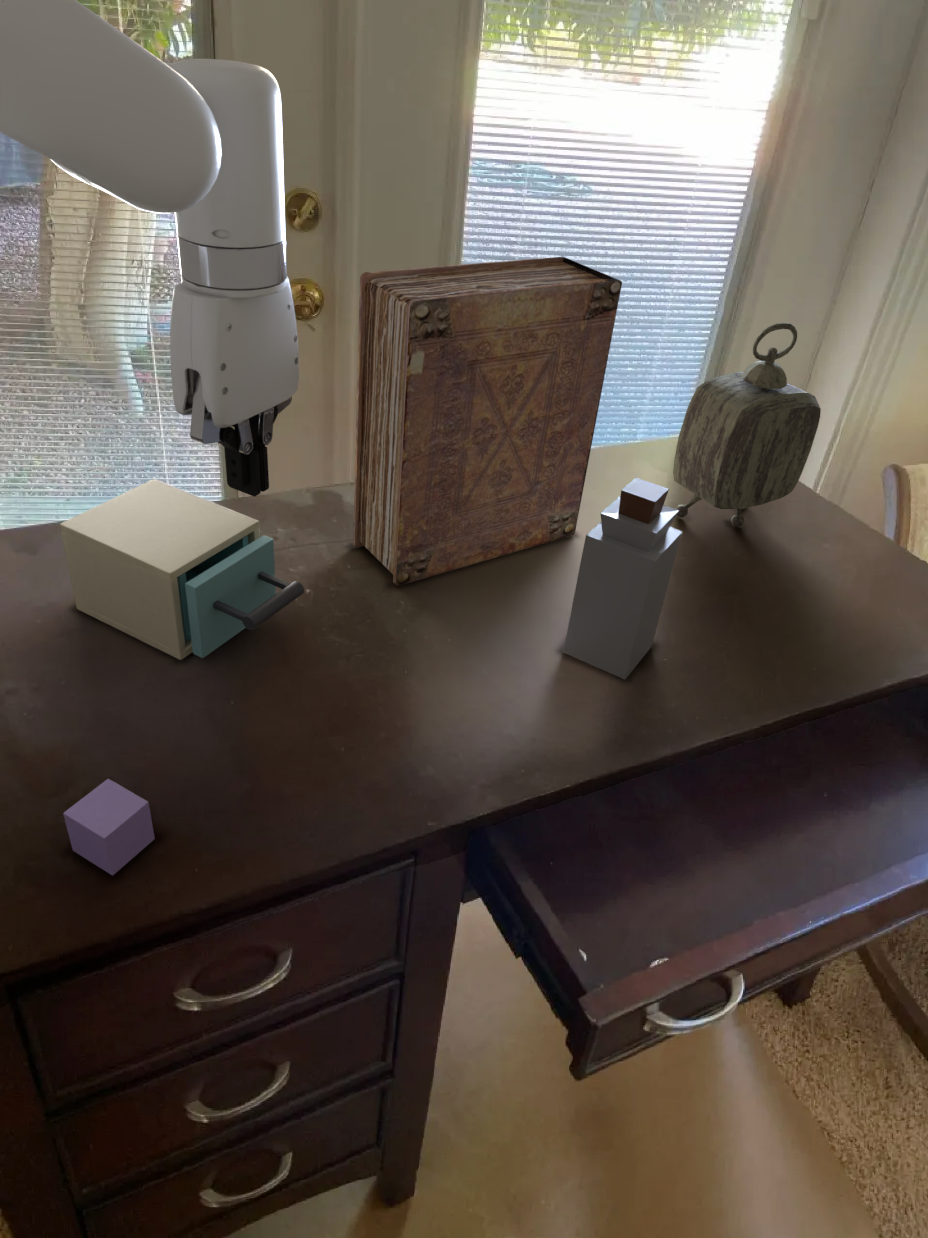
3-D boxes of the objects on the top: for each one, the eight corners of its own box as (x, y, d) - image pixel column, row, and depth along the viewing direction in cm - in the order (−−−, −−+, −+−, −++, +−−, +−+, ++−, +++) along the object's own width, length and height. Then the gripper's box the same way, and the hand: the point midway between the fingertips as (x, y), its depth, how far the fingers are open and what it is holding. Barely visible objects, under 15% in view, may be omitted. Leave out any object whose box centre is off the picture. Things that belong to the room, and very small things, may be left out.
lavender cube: (112, 876, 62) (104, 838, 60) (72, 850, 64) (62, 813, 61) (155, 839, 65) (148, 801, 63) (115, 815, 67) (108, 778, 64)
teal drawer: (316, 623, 87) (315, 555, 82) (244, 679, 79) (239, 607, 75) (182, 564, 93) (174, 498, 88) (104, 610, 85) (91, 541, 81)
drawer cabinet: (263, 602, 90) (259, 520, 85) (180, 660, 82) (169, 573, 76) (164, 558, 95) (154, 478, 89) (76, 609, 87) (58, 523, 81)
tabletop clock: (738, 493, 120) (795, 306, 106) (789, 524, 114) (857, 331, 100) (659, 513, 113) (708, 317, 99) (709, 548, 108) (769, 344, 93)
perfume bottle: (651, 646, 90) (694, 488, 80) (625, 679, 85) (666, 516, 75) (592, 621, 93) (626, 464, 82) (563, 652, 88) (594, 490, 78)
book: (393, 587, 95) (407, 301, 77) (352, 546, 100) (357, 272, 83) (575, 535, 107) (623, 278, 90) (529, 501, 113) (566, 254, 96)
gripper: (261, 234, 71) (271, 446, 82) (115, 270, 60) (148, 509, 71) (337, 254, 68) (337, 469, 79) (199, 295, 57) (220, 539, 68)
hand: (248, 487), depth 75 cm, fingers closed
